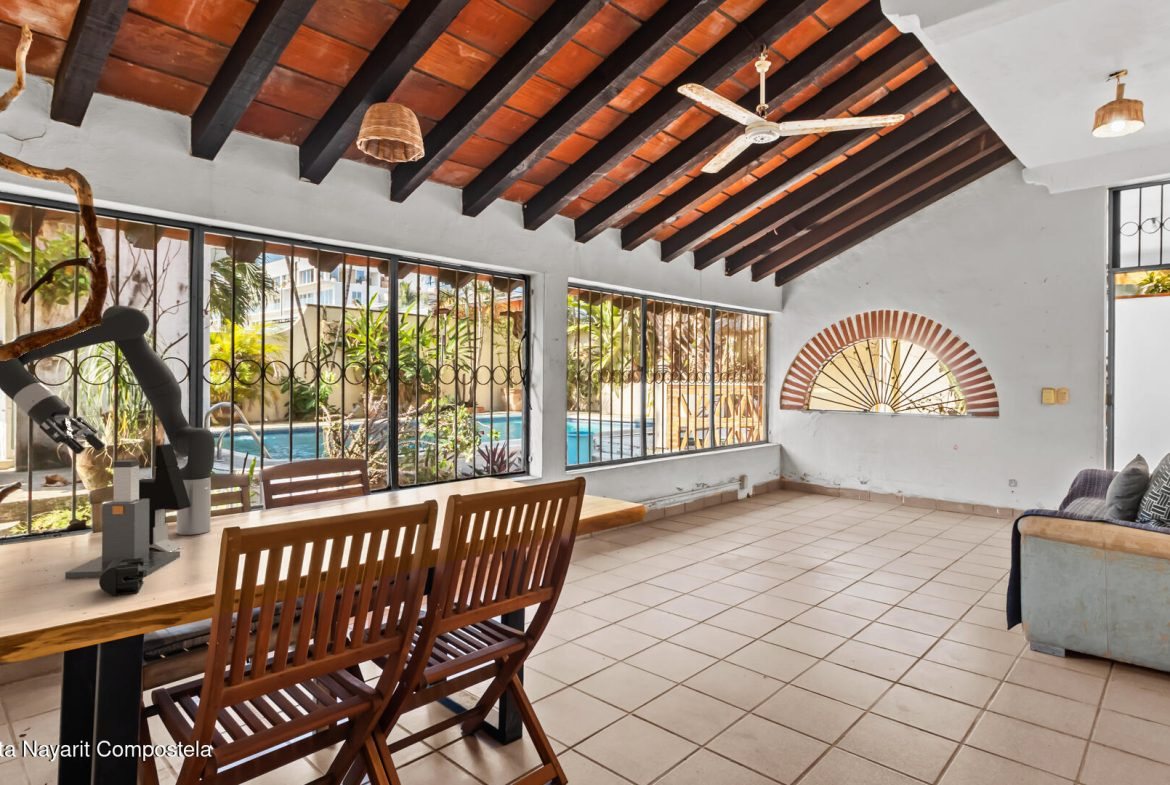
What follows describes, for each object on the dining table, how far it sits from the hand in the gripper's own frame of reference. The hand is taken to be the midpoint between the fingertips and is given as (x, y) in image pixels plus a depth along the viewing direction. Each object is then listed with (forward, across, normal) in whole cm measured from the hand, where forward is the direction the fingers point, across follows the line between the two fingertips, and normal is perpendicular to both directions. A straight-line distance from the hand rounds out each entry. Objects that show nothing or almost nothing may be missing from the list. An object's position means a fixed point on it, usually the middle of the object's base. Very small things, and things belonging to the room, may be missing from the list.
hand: (92, 449), depth 166 cm
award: (+27, +18, +16) cm, 36 cm away
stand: (+27, 0, +16) cm, 31 cm away
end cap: (+34, -20, +10) cm, 40 cm away
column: (+25, 0, +14) cm, 29 cm away
